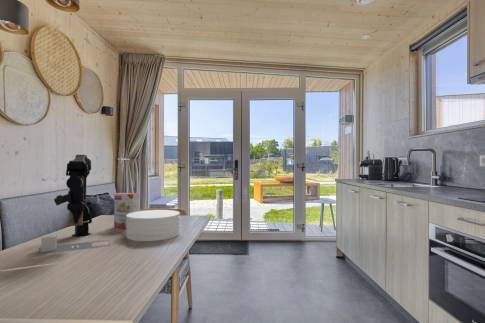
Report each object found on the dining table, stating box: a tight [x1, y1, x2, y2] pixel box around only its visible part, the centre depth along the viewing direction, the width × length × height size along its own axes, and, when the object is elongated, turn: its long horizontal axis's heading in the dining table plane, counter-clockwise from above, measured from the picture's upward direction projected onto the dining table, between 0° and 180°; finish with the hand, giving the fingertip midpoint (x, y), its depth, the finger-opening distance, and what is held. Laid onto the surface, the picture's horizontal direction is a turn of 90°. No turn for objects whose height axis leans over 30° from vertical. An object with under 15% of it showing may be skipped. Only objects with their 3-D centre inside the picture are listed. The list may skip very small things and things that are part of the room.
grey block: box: [40, 233, 58, 252], centre depth 120 cm, size 5×5×6 cm
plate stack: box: [125, 209, 181, 242], centre depth 151 cm, size 28×28×12 cm
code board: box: [35, 239, 111, 256], centre depth 124 cm, size 28×12×1 cm, turn 119°
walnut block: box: [68, 211, 83, 227], centre depth 125 cm, size 5×5×6 cm
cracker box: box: [113, 192, 140, 229], centre depth 168 cm, size 14×6×21 cm, turn 73°
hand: (76, 222), depth 125 cm, fingers closed on walnut block, 5 cm apart
